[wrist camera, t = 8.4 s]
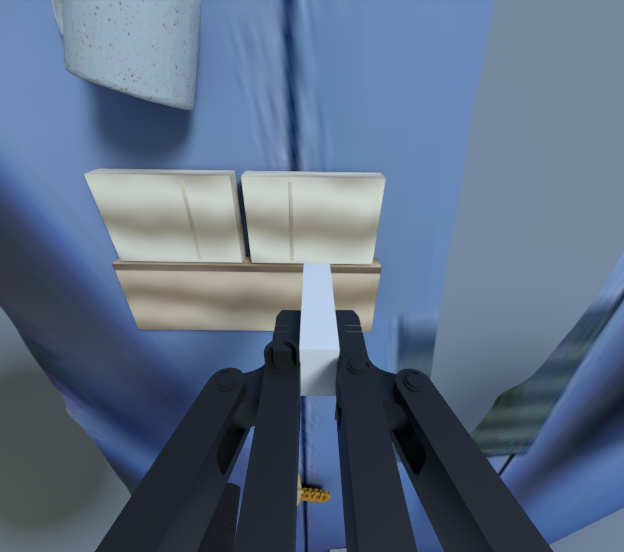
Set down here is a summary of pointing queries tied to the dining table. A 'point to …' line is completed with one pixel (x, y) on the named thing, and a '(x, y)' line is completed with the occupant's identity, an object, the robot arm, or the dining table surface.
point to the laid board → (235, 293)
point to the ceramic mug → (134, 46)
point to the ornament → (311, 494)
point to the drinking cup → (222, 523)
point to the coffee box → (338, 550)
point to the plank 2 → (312, 216)
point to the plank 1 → (170, 214)
